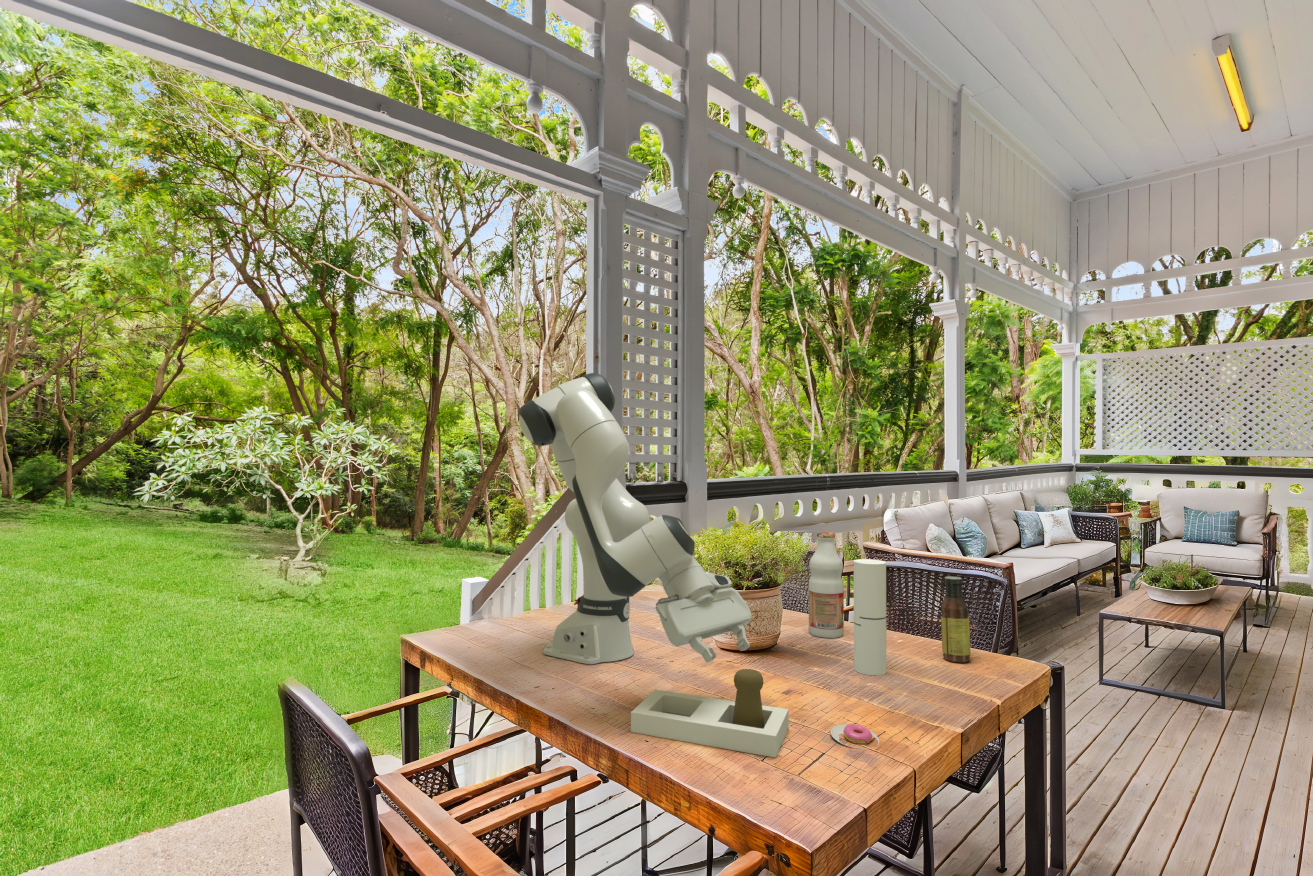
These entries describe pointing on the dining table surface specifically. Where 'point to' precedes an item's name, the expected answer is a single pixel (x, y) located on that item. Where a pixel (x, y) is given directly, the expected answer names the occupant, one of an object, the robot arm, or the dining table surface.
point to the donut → (853, 734)
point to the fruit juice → (826, 589)
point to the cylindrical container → (870, 616)
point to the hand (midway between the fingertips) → (729, 654)
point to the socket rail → (708, 723)
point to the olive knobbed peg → (748, 699)
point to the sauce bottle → (955, 623)
